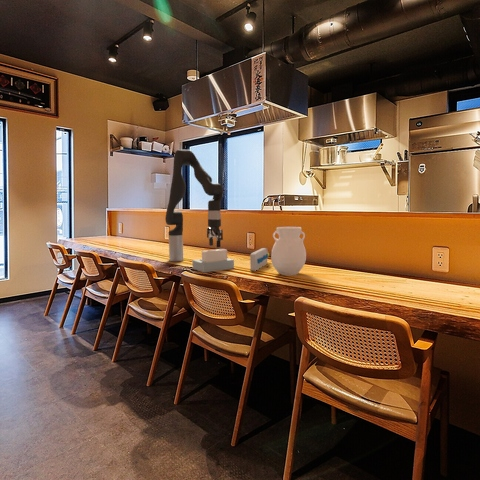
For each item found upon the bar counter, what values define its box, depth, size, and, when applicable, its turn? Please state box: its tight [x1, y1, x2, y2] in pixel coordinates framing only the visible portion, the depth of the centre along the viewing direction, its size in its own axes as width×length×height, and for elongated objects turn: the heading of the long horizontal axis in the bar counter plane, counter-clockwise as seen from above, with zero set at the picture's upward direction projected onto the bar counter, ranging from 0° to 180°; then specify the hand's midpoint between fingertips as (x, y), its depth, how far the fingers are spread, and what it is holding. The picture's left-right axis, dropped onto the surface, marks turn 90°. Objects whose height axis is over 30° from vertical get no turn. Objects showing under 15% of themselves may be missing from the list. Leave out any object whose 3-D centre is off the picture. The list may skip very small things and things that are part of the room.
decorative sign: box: [249, 247, 270, 272], centre depth 207 cm, size 32×4×10 cm, turn 160°
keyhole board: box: [192, 257, 235, 273], centre depth 202 cm, size 14×20×5 cm
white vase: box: [270, 226, 307, 276], centre depth 184 cm, size 19×18×25 cm
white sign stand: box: [201, 248, 228, 262], centre depth 200 cm, size 5×14×10 cm, turn 124°
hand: (214, 246), depth 199 cm, fingers open, 8 cm apart
